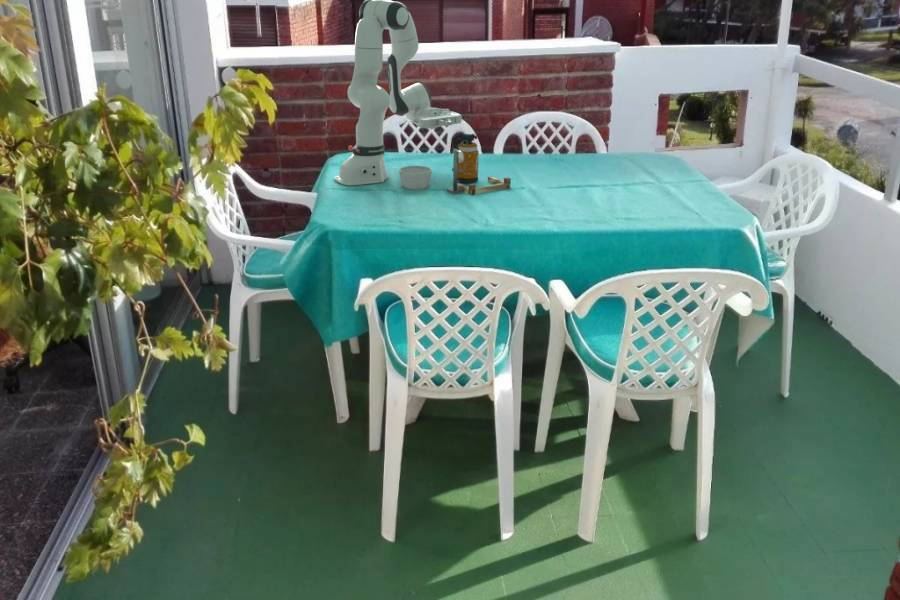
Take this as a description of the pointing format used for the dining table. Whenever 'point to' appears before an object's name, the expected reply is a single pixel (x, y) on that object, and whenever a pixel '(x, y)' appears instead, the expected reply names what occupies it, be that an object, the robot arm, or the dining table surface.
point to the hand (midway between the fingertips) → (449, 123)
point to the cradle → (498, 186)
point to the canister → (467, 158)
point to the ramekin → (415, 177)
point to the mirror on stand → (457, 158)
